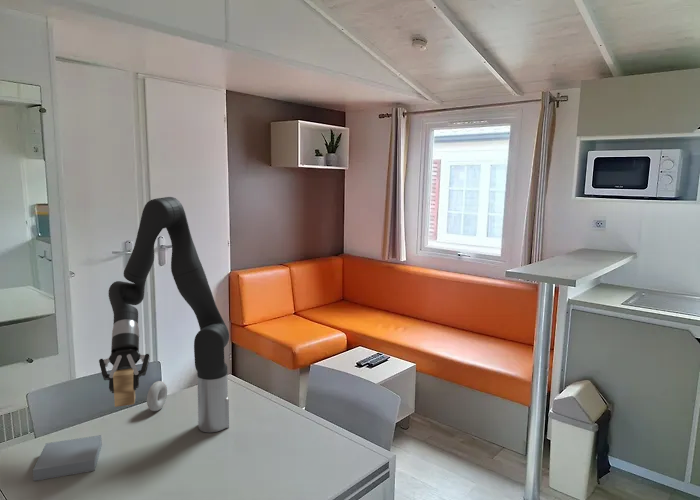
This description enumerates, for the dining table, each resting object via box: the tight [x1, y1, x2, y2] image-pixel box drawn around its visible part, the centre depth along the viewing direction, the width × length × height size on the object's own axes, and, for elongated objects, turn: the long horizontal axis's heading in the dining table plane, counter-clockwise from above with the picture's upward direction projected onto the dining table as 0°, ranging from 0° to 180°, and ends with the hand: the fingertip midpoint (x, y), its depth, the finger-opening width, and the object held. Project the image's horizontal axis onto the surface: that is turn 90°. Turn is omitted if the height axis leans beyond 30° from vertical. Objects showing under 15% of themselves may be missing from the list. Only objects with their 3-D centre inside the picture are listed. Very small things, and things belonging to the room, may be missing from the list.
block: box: [113, 368, 136, 408], centre depth 136 cm, size 5×5×9 cm
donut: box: [146, 380, 168, 412], centre depth 162 cm, size 10×3×10 cm, turn 173°
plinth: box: [32, 434, 103, 482], centre depth 130 cm, size 14×14×3 cm
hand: (124, 390), depth 134 cm, fingers closed on block, 5 cm apart
